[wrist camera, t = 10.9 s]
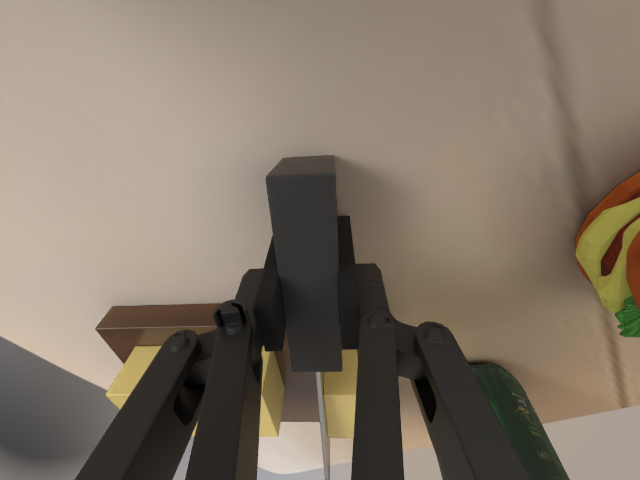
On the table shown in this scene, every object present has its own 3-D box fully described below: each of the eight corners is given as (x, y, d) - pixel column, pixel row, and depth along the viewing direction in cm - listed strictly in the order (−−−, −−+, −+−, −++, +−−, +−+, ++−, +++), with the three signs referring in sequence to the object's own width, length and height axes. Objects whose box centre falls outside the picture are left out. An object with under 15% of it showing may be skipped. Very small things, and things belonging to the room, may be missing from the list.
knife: (282, 157, 15) (264, 176, 11) (334, 154, 15) (335, 172, 11) (312, 437, 24) (308, 501, 20) (344, 437, 24) (347, 502, 20)
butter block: (135, 345, 21) (104, 395, 18) (272, 343, 20) (261, 394, 18) (167, 388, 25) (145, 435, 22) (285, 388, 24) (278, 437, 21)
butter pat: (324, 343, 20) (323, 395, 17) (356, 343, 20) (360, 395, 17) (328, 389, 24) (328, 438, 21) (355, 388, 24) (359, 438, 21)
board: (112, 306, 22) (94, 328, 20) (386, 298, 20) (390, 322, 19) (179, 400, 30) (171, 421, 28) (379, 399, 28) (382, 422, 27)
